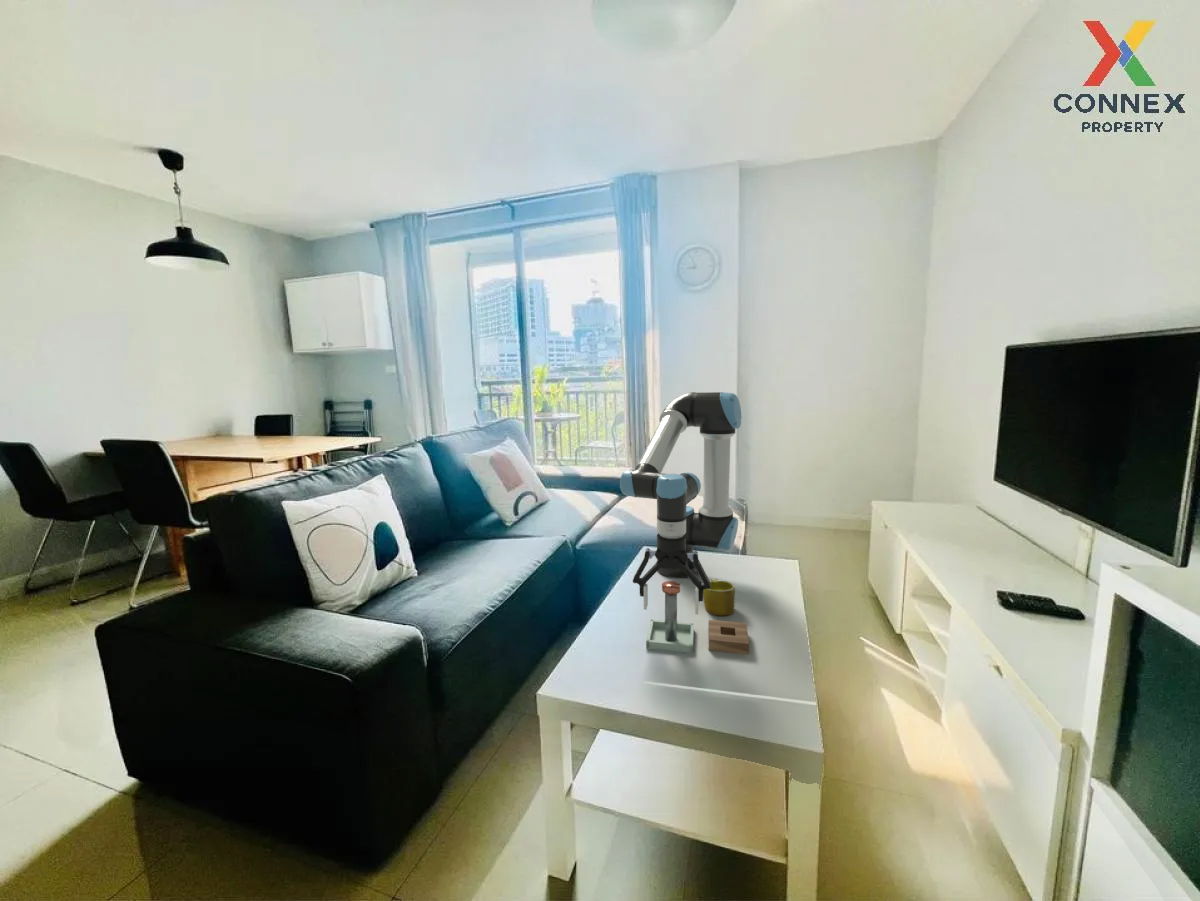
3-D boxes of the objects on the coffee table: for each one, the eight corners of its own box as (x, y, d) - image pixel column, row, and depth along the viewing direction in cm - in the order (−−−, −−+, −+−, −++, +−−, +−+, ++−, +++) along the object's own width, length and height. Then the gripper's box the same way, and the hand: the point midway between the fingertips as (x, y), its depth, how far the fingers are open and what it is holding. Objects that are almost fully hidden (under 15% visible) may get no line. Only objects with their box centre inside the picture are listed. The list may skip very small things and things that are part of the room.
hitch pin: (661, 642, 125) (661, 588, 122) (662, 632, 129) (662, 580, 127) (679, 644, 124) (679, 589, 121) (680, 634, 128) (680, 581, 126)
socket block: (708, 631, 131) (708, 619, 130) (745, 634, 128) (746, 623, 128) (708, 651, 121) (708, 639, 120) (748, 656, 119) (749, 643, 118)
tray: (650, 627, 133) (650, 619, 133) (693, 631, 130) (693, 623, 130) (646, 649, 123) (646, 641, 122) (692, 654, 120) (692, 646, 120)
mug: (742, 616, 135) (731, 582, 136) (707, 623, 137) (697, 589, 138) (741, 603, 146) (731, 572, 147) (709, 610, 149) (699, 579, 150)
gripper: (621, 536, 121) (622, 612, 124) (721, 541, 115) (719, 621, 119) (626, 526, 128) (627, 598, 131) (720, 531, 122) (718, 606, 126)
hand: (671, 609), depth 125 cm, fingers open, 13 cm apart
